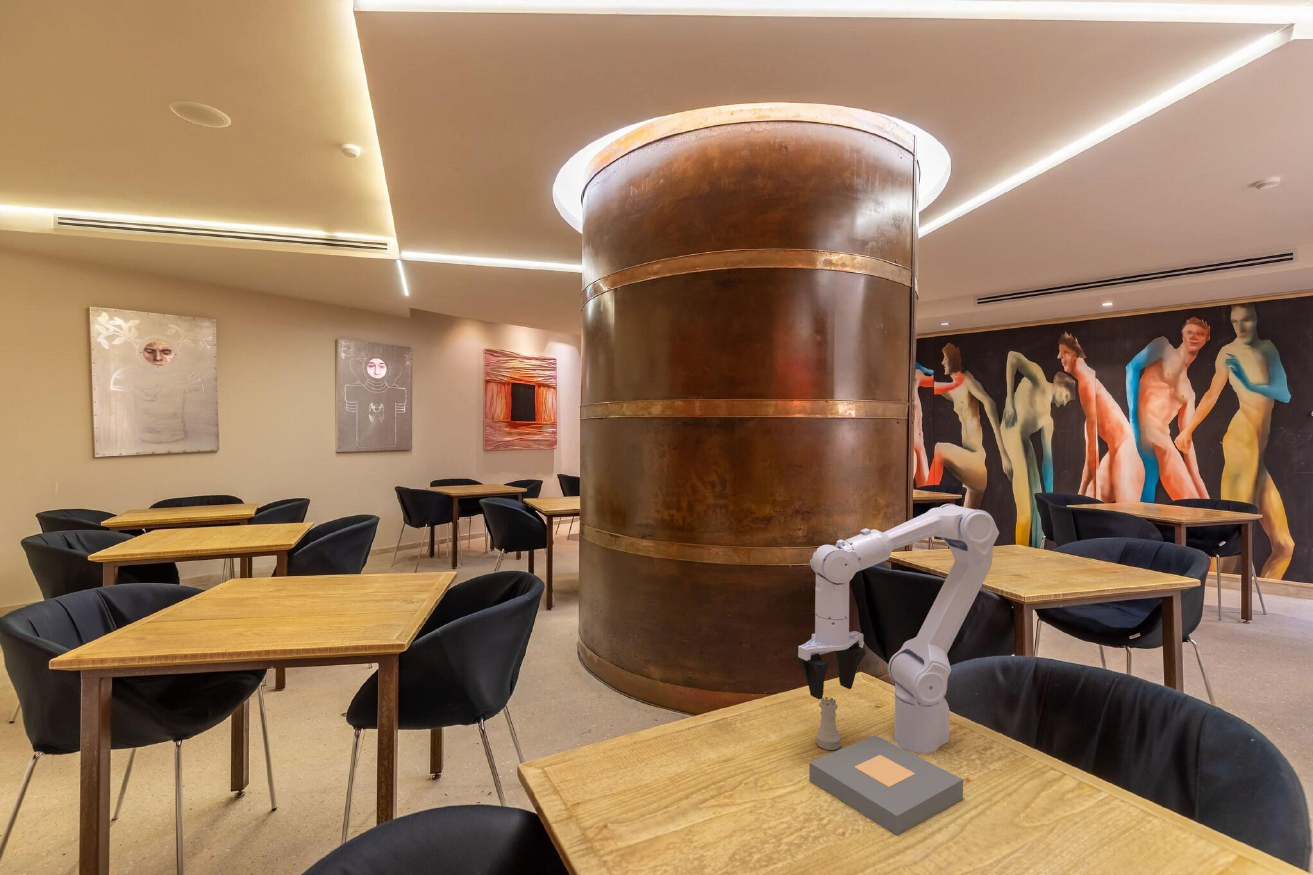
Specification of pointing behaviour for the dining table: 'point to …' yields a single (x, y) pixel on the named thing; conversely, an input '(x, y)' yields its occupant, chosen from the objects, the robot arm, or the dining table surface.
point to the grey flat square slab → (886, 783)
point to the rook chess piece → (828, 726)
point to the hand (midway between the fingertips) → (831, 691)
